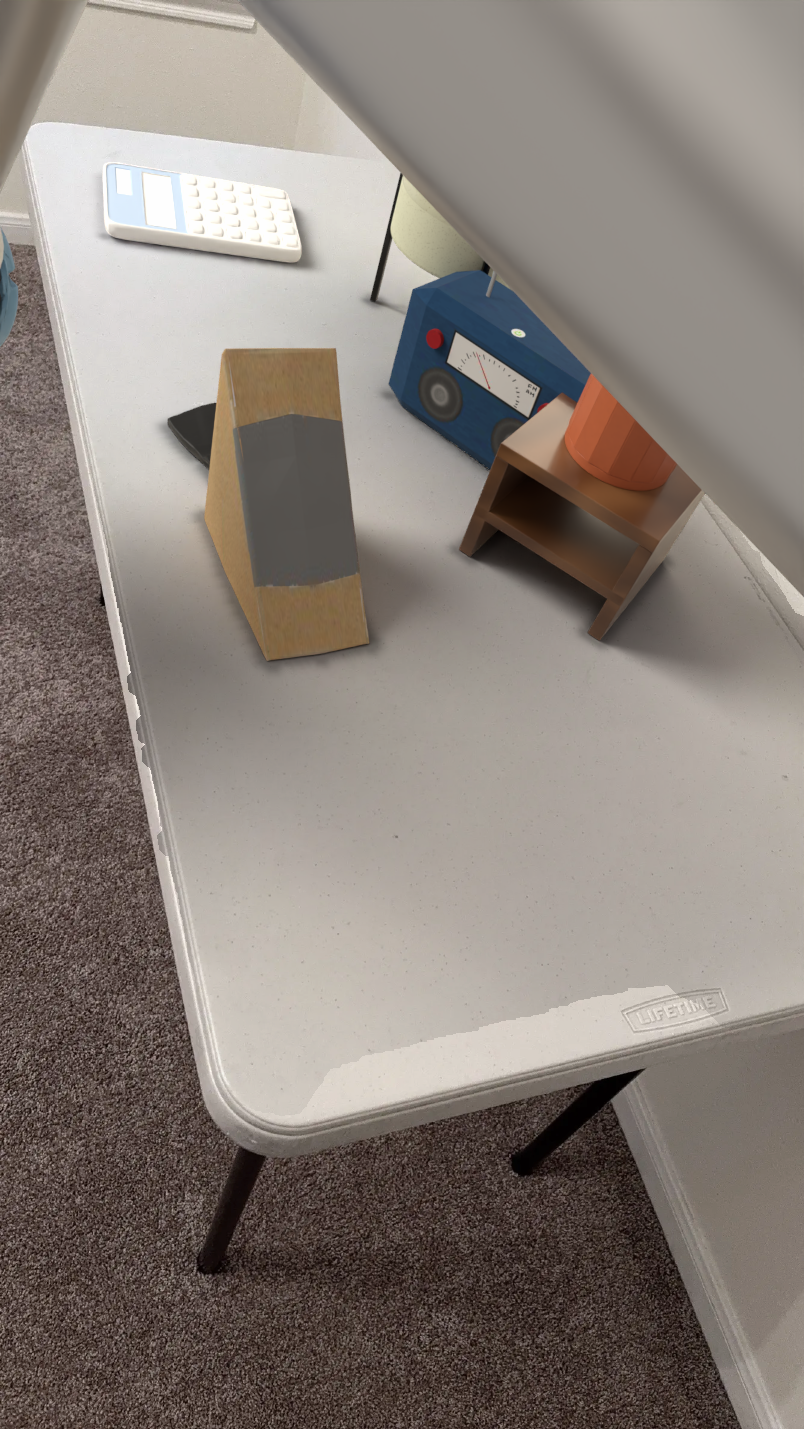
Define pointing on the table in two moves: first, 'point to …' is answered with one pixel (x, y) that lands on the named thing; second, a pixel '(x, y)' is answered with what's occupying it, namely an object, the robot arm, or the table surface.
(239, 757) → the table surface
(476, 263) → the planter
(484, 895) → the table surface
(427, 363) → the radio
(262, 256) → the calculator
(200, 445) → the dark sector wedge
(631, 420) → the canister
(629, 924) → the table surface
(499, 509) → the shelf
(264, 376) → the sandwich container
